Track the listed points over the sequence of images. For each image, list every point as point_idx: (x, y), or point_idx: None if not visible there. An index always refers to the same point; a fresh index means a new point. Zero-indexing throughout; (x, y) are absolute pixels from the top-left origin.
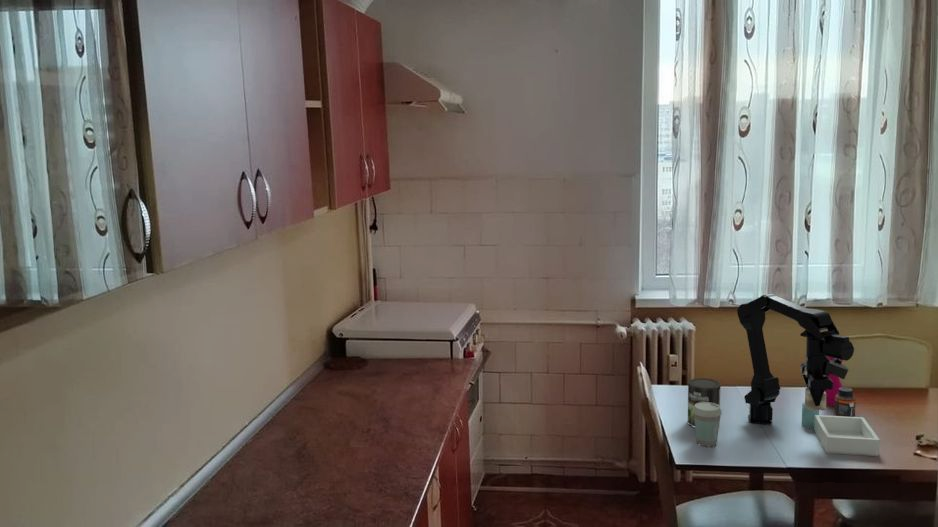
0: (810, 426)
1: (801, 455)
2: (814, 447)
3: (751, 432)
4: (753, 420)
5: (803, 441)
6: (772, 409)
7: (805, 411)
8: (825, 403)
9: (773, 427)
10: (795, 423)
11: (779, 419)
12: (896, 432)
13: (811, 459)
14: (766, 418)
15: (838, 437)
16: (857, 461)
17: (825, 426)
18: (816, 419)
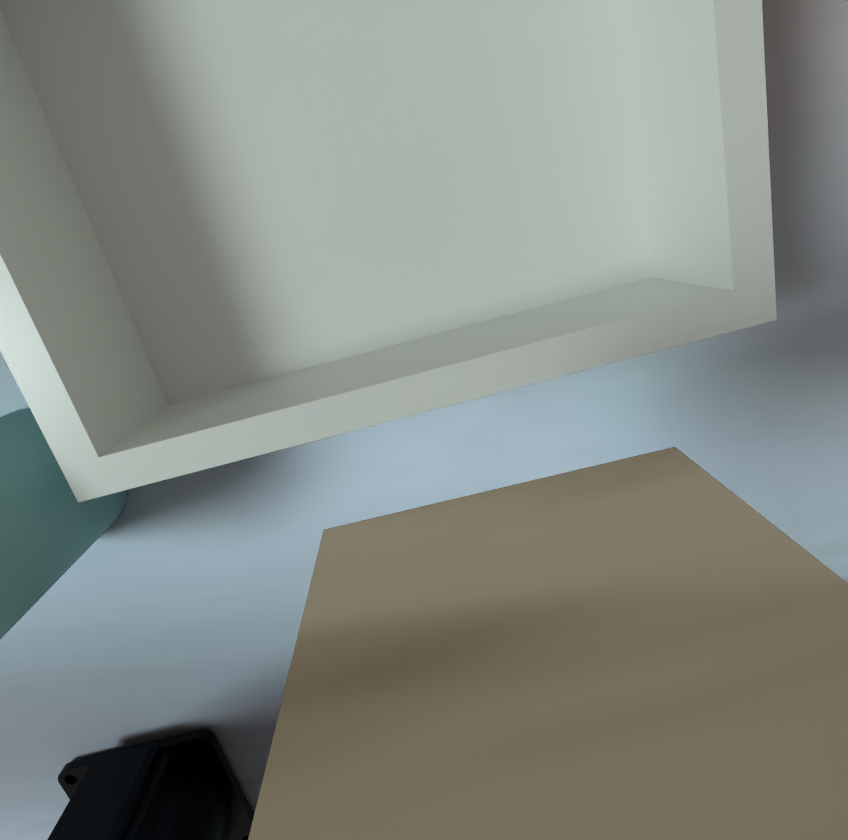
0: None
1: (768, 471)
2: (574, 398)
3: None
4: (228, 834)
5: (472, 487)
6: (110, 837)
7: (32, 602)
8: (764, 536)
9: (267, 703)
10: (80, 584)
11: (61, 694)
12: None
13: (832, 398)
14: (188, 790)
15: (763, 189)
16: (803, 8)
17: (124, 352)
18: (189, 468)
